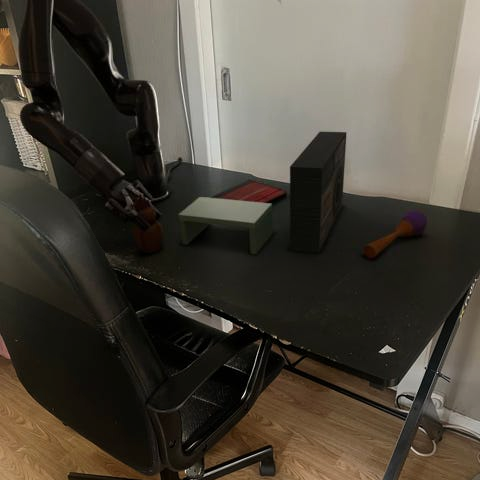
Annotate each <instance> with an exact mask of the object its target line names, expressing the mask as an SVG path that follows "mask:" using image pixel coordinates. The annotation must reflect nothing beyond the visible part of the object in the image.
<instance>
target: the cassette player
mask: <svg viewBox="0 0 480 480" xmlns="http://www.w3.org/2000/svg"><path fill="white" fill-rule="evenodd" d="M346 149H347V131H319V132H318V133H317V134H316V135H315V137H313V139H311V141H310V142H309V144H308V145H307V146H306V147H305V148H304V149H303V151H302V152H300V154H299V155H298V156H297V157H296V159H295V160H294V161H293V162H292V164H291V165H290V166H289V233H290V234H289V239H290V241H289V245H290V246H289V247H290V248H289V249H290V251H295V252H306V253H315V254H320V252H321V250H322V248H323V246H324V244H325V242H326V240H327V238H328V236H329V234H330V232H331V230H332V228H333V226H334V224H335V222H336V220H337V217H338V215H339V214H340V212H341V210H342V208H343V197H344V182H345V181H344V180H345V167H346V166H345V165H346V163H345V162H346Z"/></svg>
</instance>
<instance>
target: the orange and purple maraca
mask: <svg viewBox="0 0 480 480" xmlns="http://www.w3.org/2000/svg"><path fill="white" fill-rule="evenodd" d="M427 225H428V220H427V216H426V215H425V214H424V213H423V212H422V211H420V210H416V209H415V210H409V211H408V212H405V213H404V214H403V216H402V217H401V220H400V221H399V222H398V224H397V226H396V229H395V231H394V232H393V233H390V234H388V235H386V236H384V237H382V238H379V239H377V240H375V241H372V242H370V243H368V244H366V245H364V246H363V250H362V251H363V254H364V256H365V257H366V258H367V259H369V260H370V259H374V258H376V257H377V256H378V255H379V254H380V253H381V252H382V251H383V250H384V249H385V248H386V247H388V246H389V245H390V244H391V243H392V242H393V241H394V240H395V239H396V238H397V237H410V236H418V235H420V234H422V233H423V232H424V231H425V229H426V227H427Z"/></svg>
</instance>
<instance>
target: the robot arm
mask: <svg viewBox="0 0 480 480" xmlns="http://www.w3.org/2000/svg"><path fill="white" fill-rule="evenodd" d="M20 26H21V27H20V30H19V35H18V44H17V45H18V46H17V47H18V48H17V49H18V60H19V70H20V78H21V83H22V85H23V86H24V87H25V88H26V89H27V90H28V91H29V92H30V96H31V100H32V102H27V103H26V104H25V105H23V106H22V107H21V109H20V112H19V119H20V123H21V125H22V127H23V128H24V130H25V131H26V132H27V133H28V134H29V136H30V137H32V138H33V139H34V140H36V141H37V142H38V143H40V144H41V145H43V146H44V147H46V148H47V149H48V150H50V151H52V152H53V153H55V154H56V155H58V156H59V157H60V158H61V159H62V160H63V161H64V162H65V163H66V164H67V165H68V166H69V167H71V169H73V170H74V171H75V172H76V174H77V175H78V176H79V177H80V178H81V179H82V180H83V181H84V182H85V183H86V184H87V185H88V186H89V187H90V188H91V189H92V190H94V191H95V192H96V193H97V194H98V195H99V196H100V197H102V198H103V199H104V198H107V199H108V200H107V202H106V203H105V204H104V209H105V210H106V211H108V212H109V213H110V214H111V215H113V216H115V218H117V219H119V220H120V221H121V222H122V223H123V224H126V223H128V222H130V223H131V222H132V223H133V224H134V225H137V226H138V227H139V228H140V229H141V230H143V231H144V232H145V231H146V230H147V229H148V228H149V227H150V224H149V223H148V222H147V221H145V220H144V219H143V218H142V217H141V216H140V215H137V212H136V211H135V210H136V208H135V207H136V204H135V198H134V194H135V195H136V197H137V199H138V201H139V203H140V194H141V196H142V199H143V197H145V199H146V200H147V199H148V200H149V202H150V205H151V207H153V208H154V210H155V212H156V218H155V220H157V221H159V220H160V218H162V216H163V215H162V213H161V212H160V211H159V210H158V209H157V208H156V207H155V206H154V205H153V204H152V203H157V202H160V201H164V200H165V199H167V198H168V197H169V193H170V191H169V183H168V180H169V178H170V176H171V175H170V172H171V171H172V170H173V169H174V168H176V167H177V166H178V165H179V164H180V162H182V161H183V158H182V157H181V156H180V157H178V158H177V160H176V162H174V163H173V164H171V166H169V168H167V170H166V163H164V159H163V154H162V153H163V152H162V148H161V142H160V118H159V108H158V98H157V93H156V90H155V87H154V86H153V84H152V83H151V82H150V81H148V80H145V79H128V78H125V77H124V76H123V74H121V72H120V71H119V70H118V68H117V67H116V64H115V63H114V57H113V45H112V41H111V37H110V35H109V33H108V31H106V29H105V27H104V26H103V25H102V23H101V22H100V21H99V19H98V18H97V16H96V15H95V14H94V13H93V11H92V10H91V9H90V8H89V7H87V6H86V5H85V4H84V3H82V2H81V1H80V0H26V6H25V11H24V16H23V20H22V23H21V25H20ZM53 27H54V28H55V30H56V31H57V33H59V35H60V36H61V37H62V39H63V40H64V41H65V42H66V44H67V45H68V46H69V48H70V49H71V50H72V51H73V53H74V54H75V55H76V56H77V58H78V59H79V60H80V61H81V62H82V63H83V64H84V66H85V67H86V68H87V69H88V70H89V72H90V73H91V75H92V76H93V77H94V78H95V80H96V81H97V83H98V84H99V85H100V87H101V88H102V90H103V91H104V92H105V94H106V96H107V97H108V99H109V100H110V102H111V103H112V105H113V106H114V108H115V109H116V110H117V111H118V112H119V113H120V114H122V115H124V116H127V117H136V127H133V128H130V129H129V130H128V131H126V139H127V140H126V142H127V147H128V152H129V157H130V162H131V167H132V172H133V176H134V177H133V178H134V181H133V182H132V183H130V182H128V181H127V180H125V179H126V178H125V173H124V172H123V171H122V170H121V169H120V168H119V167H118V166H116V164H115V163H113V162H112V161H111V159H109V158H108V157H107V156H106V155H105V154H104V153H103V152H101V151H100V150H99V149H97V147H95V146H94V145H93V144H92V143H91V142H90V141H88V140H87V139H86V137H84V135H82V134H81V133H79V132H78V131H76V130H73V129H70V128H69V127H67V126H66V125H65V123H64V122H65V115H64V114H65V113H64V108H63V104H62V100H61V96H60V93H59V90H58V87H57V83H56V69H55V58H54V44H53V43H54V41H53Z"/></svg>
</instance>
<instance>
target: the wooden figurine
mask: <svg viewBox="0 0 480 480" xmlns="http://www.w3.org/2000/svg"><path fill="white" fill-rule="evenodd" d="M134 198H135V204H136V206H135V211H136V212H137V215H140V216H141V217H142V218H143V219H144V220H145V221H147V222H148V223H149V224H150V227H149V228H148V229H147V230H146V231H145V232H144V231H143V230H141V229H140V228H139V227H138V226H137V225H136V224H134V225H135V226H134V227H133V235H134V240H135V241H136V245H137V246H138V248H139V249H140V250H141V252H143V253H146V254H151V253H156V252H158V251H160V250H161V248H162V247H163V243H164V233H163V232H164V231H163V226H162V223H160V222H159V220H155V218H156V212H155V210H154V208H153V207H151V205H150V202H149V200H148V199H147V200H146V199H145V197H143V199H142V196H141V194H140V203H139V201H138V199H137V198H138V197H136V195H135V194H134Z"/></svg>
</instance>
